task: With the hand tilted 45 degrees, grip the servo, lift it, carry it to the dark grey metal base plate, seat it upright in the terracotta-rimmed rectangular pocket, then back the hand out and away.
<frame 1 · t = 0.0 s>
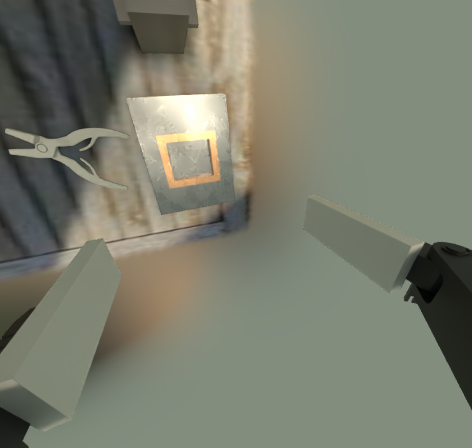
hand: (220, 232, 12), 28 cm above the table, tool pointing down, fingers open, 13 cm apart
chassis: (190, 158, 35), on the table
servo: (158, 30, 26), on the table
pliers: (77, 153, 30), on the table
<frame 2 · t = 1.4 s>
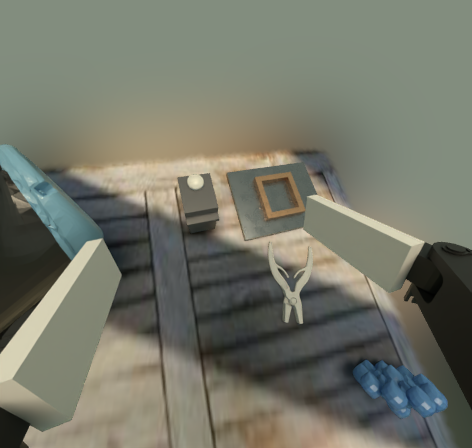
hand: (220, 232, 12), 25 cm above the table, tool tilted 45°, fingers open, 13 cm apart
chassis: (276, 198, 42), on the table
grapes: (362, 372, 33), on the table
servo: (199, 217, 38), on the table
pliers: (289, 280, 37), on the table
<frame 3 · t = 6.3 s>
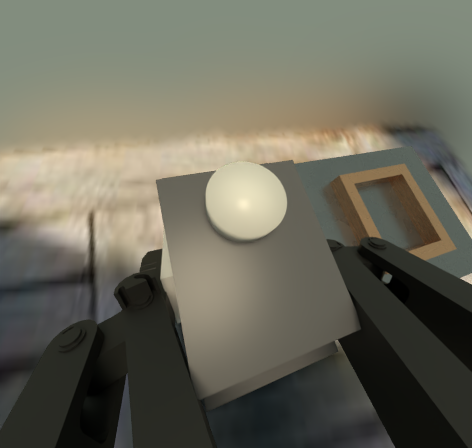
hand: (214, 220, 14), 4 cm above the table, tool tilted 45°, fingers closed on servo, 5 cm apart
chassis: (375, 219, 20), on the table
servo: (222, 272, 16), on the table, touching gripper
when the fingers open (6 cm above the table, at t = 12.4 s): servo drops 1 cm, resting on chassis.
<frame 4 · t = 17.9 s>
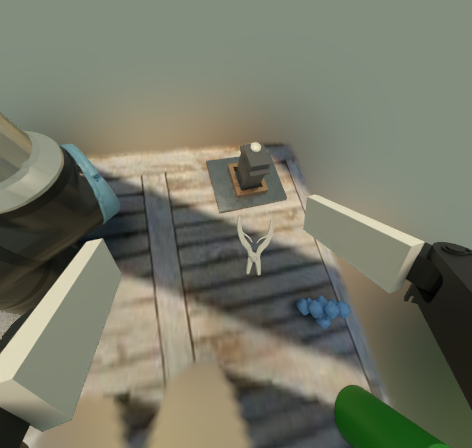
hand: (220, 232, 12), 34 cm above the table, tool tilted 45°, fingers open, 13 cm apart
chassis: (246, 181, 53), on the table
green pencil holder: (352, 411, 39), on the table
grapes: (307, 308, 44), on the table
servo: (246, 179, 52), point 1 cm above the table, touching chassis
pliers: (253, 245, 48), on the table
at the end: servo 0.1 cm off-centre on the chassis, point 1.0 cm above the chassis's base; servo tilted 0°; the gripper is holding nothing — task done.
